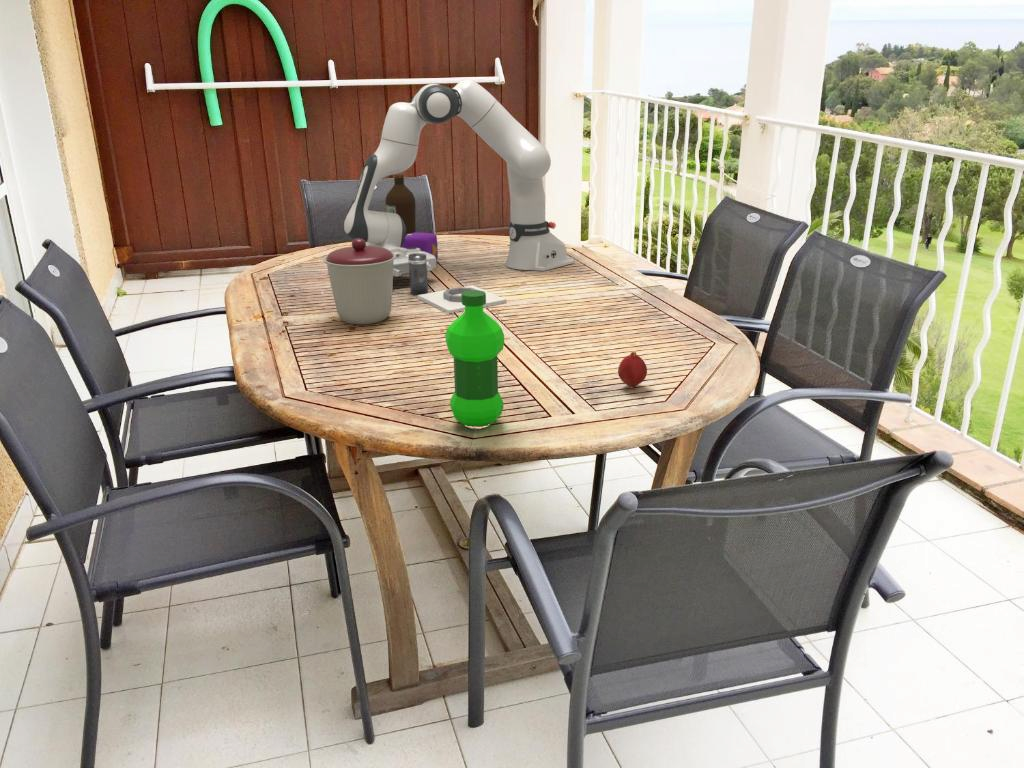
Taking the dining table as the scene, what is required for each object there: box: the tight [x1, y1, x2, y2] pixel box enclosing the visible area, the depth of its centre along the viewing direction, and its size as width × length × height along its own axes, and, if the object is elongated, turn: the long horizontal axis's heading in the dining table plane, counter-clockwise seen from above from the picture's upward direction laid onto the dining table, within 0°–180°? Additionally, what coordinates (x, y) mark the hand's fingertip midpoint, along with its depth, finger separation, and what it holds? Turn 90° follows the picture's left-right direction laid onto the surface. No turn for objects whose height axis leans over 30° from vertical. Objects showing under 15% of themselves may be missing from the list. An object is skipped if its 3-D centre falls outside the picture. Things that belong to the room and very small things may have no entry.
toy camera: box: [402, 232, 439, 261], centre depth 266 cm, size 11×14×10 cm
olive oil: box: [385, 172, 417, 236], centre depth 289 cm, size 11×11×25 cm
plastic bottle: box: [445, 290, 505, 426], centre depth 145 cm, size 10×10×25 cm
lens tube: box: [408, 253, 429, 296], centre depth 231 cm, size 5×5×11 cm
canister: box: [323, 238, 396, 325], centre depth 207 cm, size 18×18×21 cm
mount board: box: [417, 284, 507, 314], centre depth 225 cm, size 18×18×2 cm
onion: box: [617, 350, 648, 388], centre depth 164 cm, size 6×6×8 cm
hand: (414, 270), depth 233 cm, fingers open, 8 cm apart
